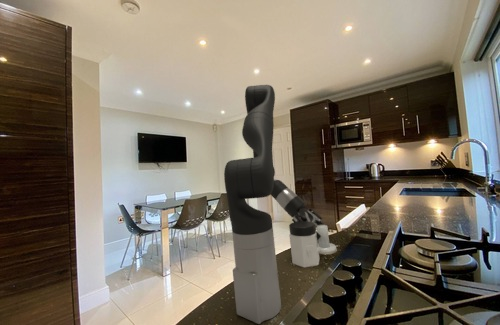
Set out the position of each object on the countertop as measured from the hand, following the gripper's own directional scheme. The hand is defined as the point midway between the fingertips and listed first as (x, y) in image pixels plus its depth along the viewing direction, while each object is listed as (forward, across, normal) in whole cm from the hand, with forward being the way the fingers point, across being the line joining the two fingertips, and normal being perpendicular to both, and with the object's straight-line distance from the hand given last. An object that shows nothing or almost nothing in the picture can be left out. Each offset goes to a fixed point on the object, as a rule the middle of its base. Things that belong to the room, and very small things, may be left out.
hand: (323, 234), depth 73 cm
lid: (+4, 0, +4) cm, 5 cm away
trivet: (+4, 0, +4) cm, 6 cm away
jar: (+2, -11, +6) cm, 13 cm away
